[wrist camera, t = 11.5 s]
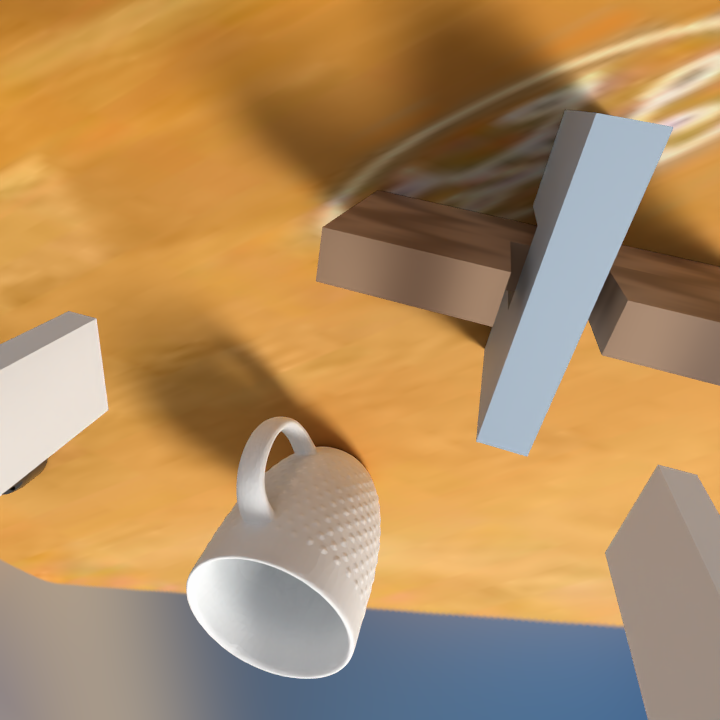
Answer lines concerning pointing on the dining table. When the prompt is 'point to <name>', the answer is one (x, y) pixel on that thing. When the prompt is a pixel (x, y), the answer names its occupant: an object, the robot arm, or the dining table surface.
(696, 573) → the robot arm
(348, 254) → the walnut slot plate
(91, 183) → the dining table surface
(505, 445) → the pale blue flat slat
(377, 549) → the mug
